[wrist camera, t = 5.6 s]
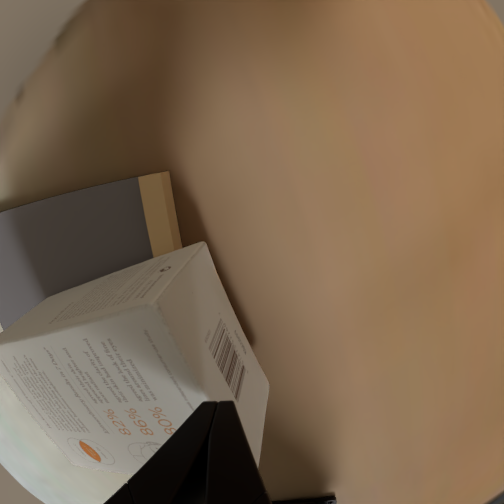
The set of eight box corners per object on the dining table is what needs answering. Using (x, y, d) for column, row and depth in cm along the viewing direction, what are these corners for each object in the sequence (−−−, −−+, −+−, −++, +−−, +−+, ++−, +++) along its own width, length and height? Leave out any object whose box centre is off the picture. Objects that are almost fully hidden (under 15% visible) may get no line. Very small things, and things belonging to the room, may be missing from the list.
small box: (209, 236, 13) (44, 293, 15) (153, 302, 7) (-22, 344, 10) (271, 386, 15) (111, 403, 17) (260, 480, 10) (72, 466, 12)
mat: (215, 390, 17) (212, 404, 16) (33, 378, 18) (25, 387, 17) (169, 170, 13) (160, 172, 12) (-25, 220, 14) (-38, 225, 13)
